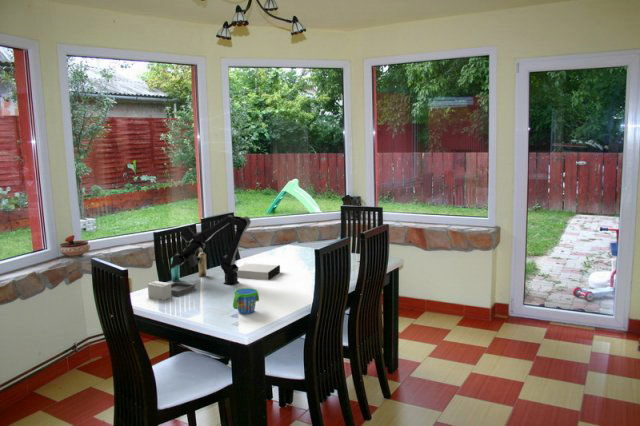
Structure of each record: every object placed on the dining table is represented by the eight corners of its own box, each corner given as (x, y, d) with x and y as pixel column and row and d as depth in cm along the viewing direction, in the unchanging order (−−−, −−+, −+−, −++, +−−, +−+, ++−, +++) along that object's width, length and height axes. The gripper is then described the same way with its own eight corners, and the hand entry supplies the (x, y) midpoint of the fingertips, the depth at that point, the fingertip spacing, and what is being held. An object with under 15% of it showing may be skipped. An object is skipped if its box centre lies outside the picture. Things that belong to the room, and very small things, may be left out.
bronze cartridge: (207, 275, 305) (207, 252, 303) (203, 277, 301) (202, 254, 299) (202, 274, 307) (201, 252, 305) (197, 276, 303) (196, 253, 301)
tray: (195, 289, 276) (194, 285, 275) (177, 296, 264) (177, 291, 264) (176, 286, 282) (176, 281, 281) (159, 292, 270) (159, 287, 270)
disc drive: (269, 280, 296) (269, 272, 295) (233, 277, 302) (233, 269, 301) (280, 273, 312) (280, 265, 312) (246, 270, 319) (246, 262, 318)
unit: (171, 296, 264) (171, 283, 263) (163, 299, 258) (162, 286, 257) (157, 293, 268) (156, 280, 267) (148, 297, 263) (147, 283, 262)
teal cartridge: (181, 280, 295) (180, 256, 293) (176, 281, 291) (175, 258, 289) (175, 279, 297) (174, 255, 295) (170, 280, 293) (169, 257, 291)
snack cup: (251, 305, 250) (250, 285, 248) (266, 310, 243) (266, 289, 241) (226, 313, 238) (225, 292, 236) (241, 318, 231) (240, 297, 230)
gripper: (195, 262, 280) (177, 280, 284) (208, 254, 299) (191, 272, 302) (181, 247, 281) (163, 266, 284) (195, 240, 299) (178, 258, 302)
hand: (174, 265), depth 293 cm, fingers open, 9 cm apart
